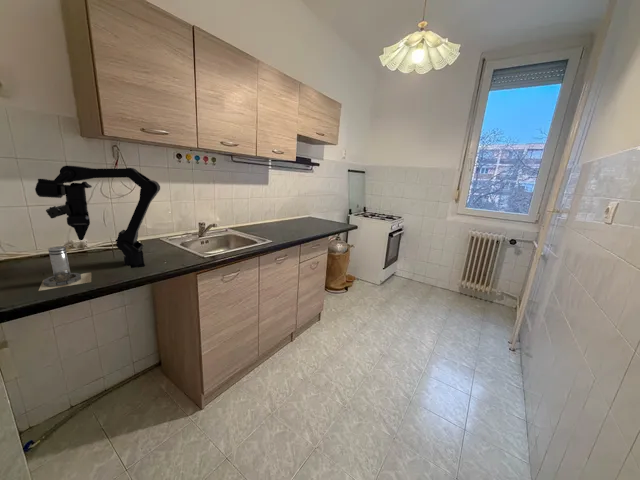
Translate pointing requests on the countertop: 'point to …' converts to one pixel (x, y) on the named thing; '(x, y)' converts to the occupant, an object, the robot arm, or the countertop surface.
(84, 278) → the board
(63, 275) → the clear glass jar
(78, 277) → the ring
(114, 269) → the countertop surface
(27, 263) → the countertop surface
